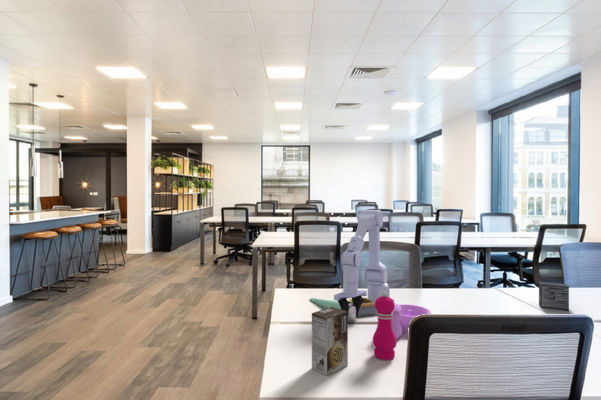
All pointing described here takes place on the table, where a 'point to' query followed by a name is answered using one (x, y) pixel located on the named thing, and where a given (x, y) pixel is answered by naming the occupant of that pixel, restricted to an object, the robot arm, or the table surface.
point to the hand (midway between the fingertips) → (350, 316)
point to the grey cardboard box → (329, 340)
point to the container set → (405, 317)
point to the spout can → (351, 313)
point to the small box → (554, 296)
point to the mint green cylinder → (326, 303)
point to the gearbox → (366, 308)
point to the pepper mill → (384, 328)
